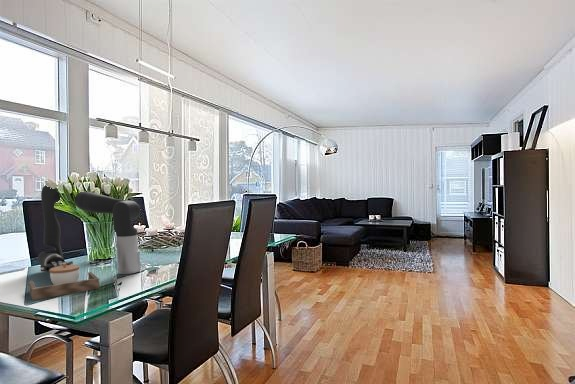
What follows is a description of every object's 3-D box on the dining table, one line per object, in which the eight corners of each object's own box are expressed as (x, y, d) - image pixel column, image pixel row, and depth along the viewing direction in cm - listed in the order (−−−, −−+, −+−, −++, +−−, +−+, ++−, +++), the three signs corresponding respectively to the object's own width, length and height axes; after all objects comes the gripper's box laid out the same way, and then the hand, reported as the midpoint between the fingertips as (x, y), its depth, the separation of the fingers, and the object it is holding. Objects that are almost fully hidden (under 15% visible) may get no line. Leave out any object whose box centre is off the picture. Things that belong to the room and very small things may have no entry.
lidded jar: (55, 284, 167) (54, 262, 167) (83, 282, 170) (82, 260, 169) (46, 291, 157) (45, 267, 157) (75, 288, 159) (74, 265, 159)
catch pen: (91, 281, 171) (91, 271, 171) (99, 288, 159) (98, 278, 159) (29, 291, 158) (28, 281, 157) (32, 300, 145) (32, 289, 145)
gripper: (37, 257, 177) (40, 263, 163) (70, 253, 184) (76, 258, 170) (38, 273, 177) (41, 281, 163) (71, 269, 185) (77, 275, 171)
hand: (59, 269), depth 167 cm, fingers closed
